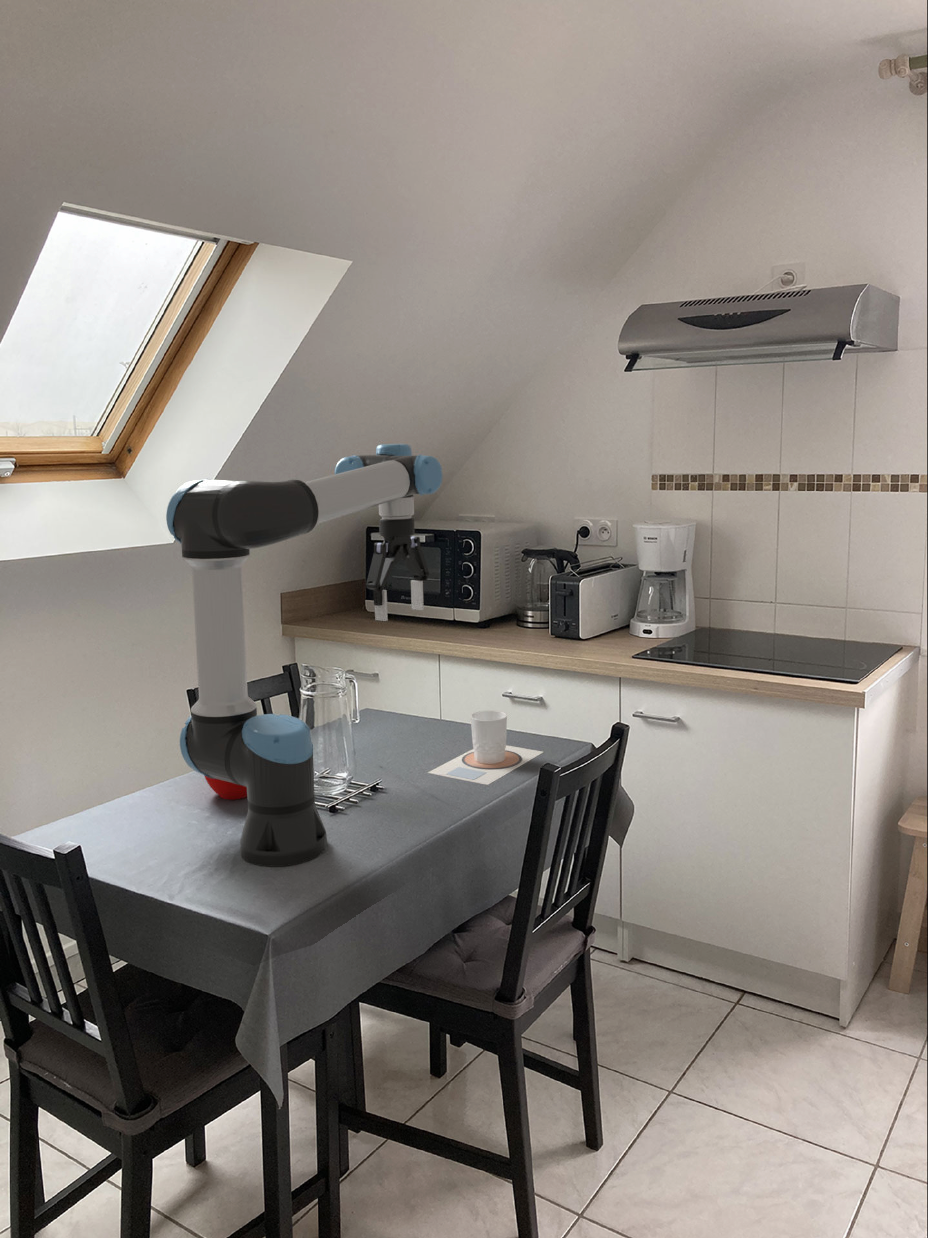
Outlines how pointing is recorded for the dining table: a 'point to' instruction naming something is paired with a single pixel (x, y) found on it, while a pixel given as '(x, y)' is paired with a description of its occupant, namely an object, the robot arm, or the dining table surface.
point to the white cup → (489, 736)
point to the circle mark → (509, 761)
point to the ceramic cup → (227, 789)
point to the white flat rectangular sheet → (481, 776)
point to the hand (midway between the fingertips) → (400, 614)
